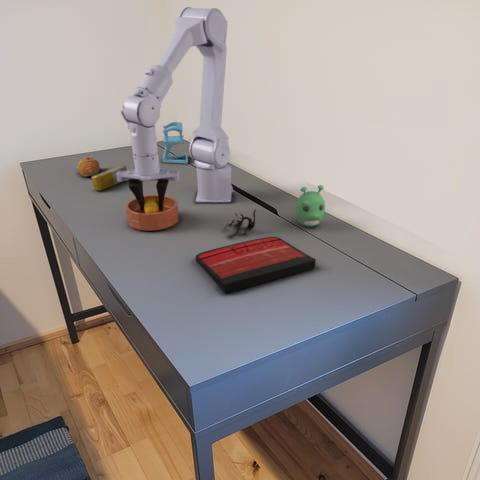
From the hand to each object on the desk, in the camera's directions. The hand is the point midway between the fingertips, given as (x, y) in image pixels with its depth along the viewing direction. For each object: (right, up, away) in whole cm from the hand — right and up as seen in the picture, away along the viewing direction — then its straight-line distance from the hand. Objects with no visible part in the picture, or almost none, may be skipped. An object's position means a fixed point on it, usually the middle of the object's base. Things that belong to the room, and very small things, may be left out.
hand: (152, 209), depth 118 cm
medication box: (-16, +12, +23) cm, 31 cm away
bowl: (0, -3, +2) cm, 3 cm away
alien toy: (+38, -5, -1) cm, 39 cm away
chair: (0, +26, +42) cm, 49 cm away
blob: (0, -1, +1) cm, 1 cm away
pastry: (-25, +20, +32) cm, 45 cm away
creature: (+21, -6, -3) cm, 23 cm away
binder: (+24, -16, -16) cm, 33 cm away
